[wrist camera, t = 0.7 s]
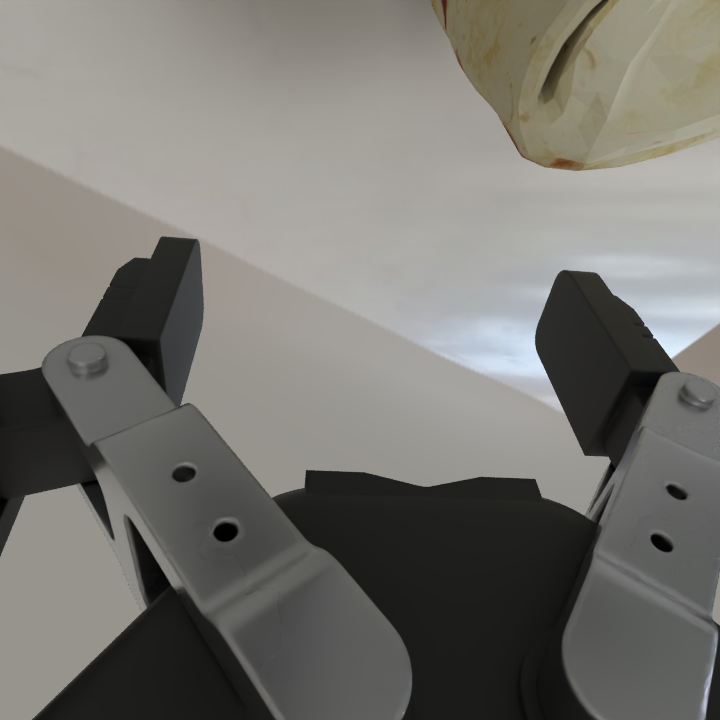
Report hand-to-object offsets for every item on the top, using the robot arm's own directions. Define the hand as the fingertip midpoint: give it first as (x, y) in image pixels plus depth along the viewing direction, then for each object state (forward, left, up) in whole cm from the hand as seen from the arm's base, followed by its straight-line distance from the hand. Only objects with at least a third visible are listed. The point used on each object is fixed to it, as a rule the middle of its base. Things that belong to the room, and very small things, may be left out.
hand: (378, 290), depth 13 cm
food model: (-5, +7, -24) cm, 25 cm away
